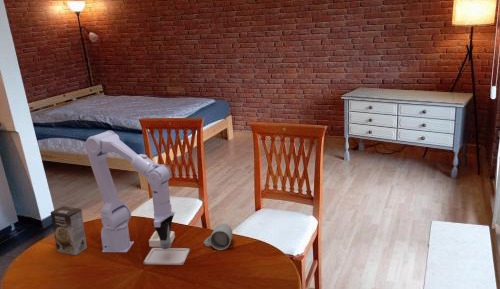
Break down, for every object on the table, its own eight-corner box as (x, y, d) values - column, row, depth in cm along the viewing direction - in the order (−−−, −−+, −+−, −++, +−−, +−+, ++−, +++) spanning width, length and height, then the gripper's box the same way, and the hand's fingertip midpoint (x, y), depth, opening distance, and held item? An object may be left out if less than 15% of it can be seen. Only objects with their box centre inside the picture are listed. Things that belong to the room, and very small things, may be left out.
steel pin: (158, 248, 155) (156, 225, 153) (163, 243, 159) (161, 220, 156) (168, 249, 154) (165, 225, 152) (172, 244, 158) (170, 221, 155)
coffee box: (56, 252, 165) (49, 212, 161) (69, 244, 171) (62, 205, 167) (75, 256, 162) (68, 215, 158) (87, 247, 168) (81, 208, 163)
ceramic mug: (233, 239, 169) (232, 221, 167) (231, 250, 161) (229, 230, 159) (206, 240, 170) (204, 221, 168) (202, 250, 162) (200, 231, 160)
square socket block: (149, 247, 166) (148, 240, 165) (155, 238, 173) (155, 231, 172) (169, 248, 165) (168, 240, 164) (174, 238, 172) (174, 231, 171)
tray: (143, 265, 154) (143, 262, 153) (152, 250, 163) (152, 247, 163) (183, 266, 152) (182, 262, 152) (189, 251, 162) (189, 248, 161)
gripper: (167, 209, 144) (170, 247, 148) (178, 192, 158) (181, 227, 162) (145, 209, 145) (150, 247, 149) (159, 192, 159) (162, 227, 163)
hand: (165, 237), depth 156 cm, fingers closed on steel pin, 4 cm apart
